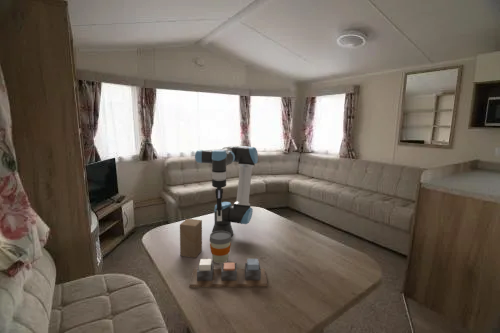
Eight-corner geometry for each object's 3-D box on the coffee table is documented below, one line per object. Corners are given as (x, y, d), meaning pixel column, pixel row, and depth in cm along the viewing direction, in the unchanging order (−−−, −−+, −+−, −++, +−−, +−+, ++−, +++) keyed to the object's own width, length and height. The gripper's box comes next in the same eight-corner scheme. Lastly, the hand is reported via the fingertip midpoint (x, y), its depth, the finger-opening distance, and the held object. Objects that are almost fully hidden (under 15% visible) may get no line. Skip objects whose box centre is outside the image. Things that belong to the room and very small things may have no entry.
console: (189, 287, 121) (189, 275, 120) (193, 271, 134) (193, 260, 133) (267, 286, 124) (267, 274, 123) (264, 271, 136) (264, 260, 135)
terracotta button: (223, 277, 125) (223, 268, 125) (223, 271, 131) (224, 262, 130) (234, 277, 126) (234, 268, 125) (234, 271, 131) (234, 262, 131)
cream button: (199, 274, 124) (199, 264, 124) (200, 267, 130) (200, 258, 129) (210, 274, 125) (210, 264, 124) (211, 267, 130) (211, 258, 129)
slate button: (247, 273, 126) (247, 264, 125) (246, 267, 131) (247, 258, 131) (258, 273, 126) (258, 264, 125) (257, 267, 132) (257, 258, 131)
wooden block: (195, 258, 147) (195, 226, 144) (180, 256, 149) (179, 224, 146) (202, 250, 157) (202, 219, 154) (187, 248, 159) (187, 218, 156)
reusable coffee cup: (205, 261, 144) (205, 237, 141) (215, 251, 155) (215, 229, 153) (225, 266, 140) (225, 241, 137) (234, 256, 151) (234, 232, 149)
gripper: (212, 176, 139) (213, 216, 144) (211, 182, 126) (211, 225, 131) (226, 176, 140) (226, 215, 144) (226, 182, 127) (226, 225, 132)
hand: (219, 220), depth 138 cm, fingers closed
